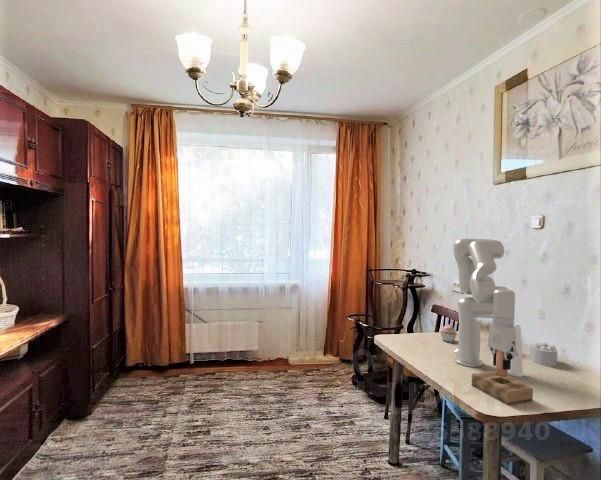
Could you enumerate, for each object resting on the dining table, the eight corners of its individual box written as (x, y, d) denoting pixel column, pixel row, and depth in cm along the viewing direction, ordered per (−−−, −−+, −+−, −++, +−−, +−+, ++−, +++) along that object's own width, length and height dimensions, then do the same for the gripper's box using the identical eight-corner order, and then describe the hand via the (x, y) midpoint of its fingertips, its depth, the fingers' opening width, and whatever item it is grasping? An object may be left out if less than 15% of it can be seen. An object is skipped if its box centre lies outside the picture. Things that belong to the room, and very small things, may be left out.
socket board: (471, 385, 157) (471, 373, 157) (494, 382, 161) (495, 370, 161) (507, 405, 140) (508, 391, 140) (532, 401, 144) (533, 388, 143)
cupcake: (436, 338, 225) (437, 321, 225) (451, 338, 226) (452, 321, 226) (444, 343, 216) (444, 325, 215) (460, 343, 217) (460, 325, 216)
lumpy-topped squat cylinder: (549, 358, 193) (549, 341, 193) (562, 367, 181) (562, 349, 180) (526, 357, 195) (527, 340, 195) (538, 366, 182) (538, 348, 182)
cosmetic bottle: (509, 370, 175) (511, 323, 174) (524, 374, 171) (526, 325, 170) (506, 374, 170) (508, 325, 170) (522, 378, 166) (524, 327, 166)
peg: (493, 373, 151) (494, 343, 151) (501, 372, 153) (502, 343, 152) (501, 377, 148) (502, 346, 147) (509, 376, 149) (510, 346, 148)
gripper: (479, 316, 156) (477, 361, 157) (513, 326, 140) (511, 376, 141) (493, 315, 159) (492, 359, 159) (529, 325, 143) (527, 374, 143)
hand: (501, 366), depth 150 cm, fingers closed on peg, 4 cm apart
